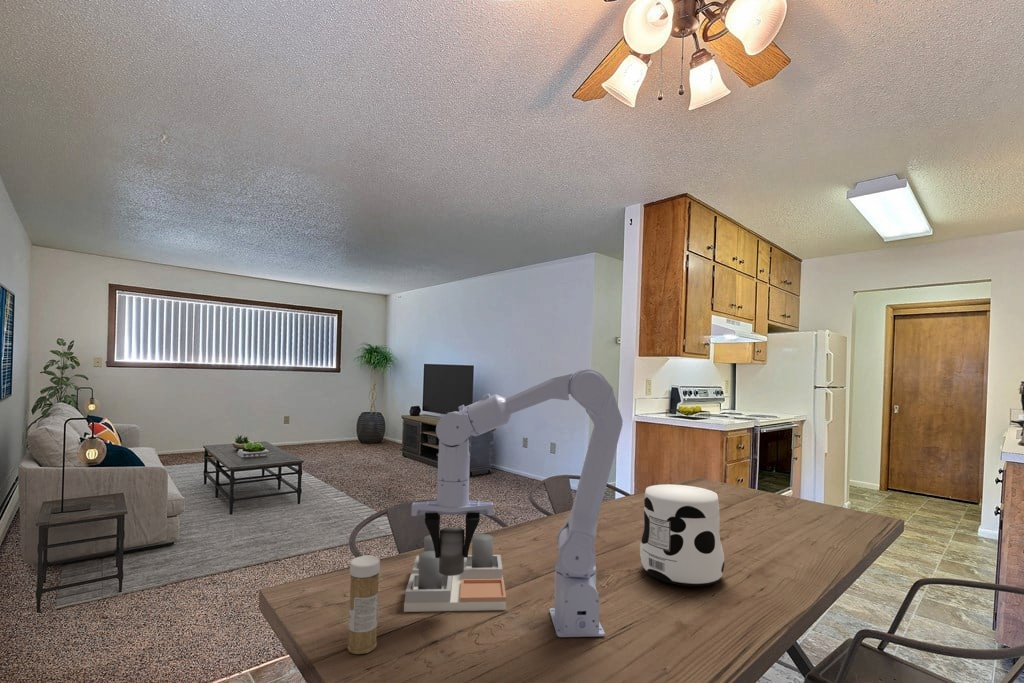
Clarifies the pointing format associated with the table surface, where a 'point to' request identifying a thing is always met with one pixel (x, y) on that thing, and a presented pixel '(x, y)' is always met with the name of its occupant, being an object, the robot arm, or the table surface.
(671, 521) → the milk container
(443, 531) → the dark gray cylinder
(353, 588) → the sprinkles bottle
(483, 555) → the white cylinder holder tray
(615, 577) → the table surface
